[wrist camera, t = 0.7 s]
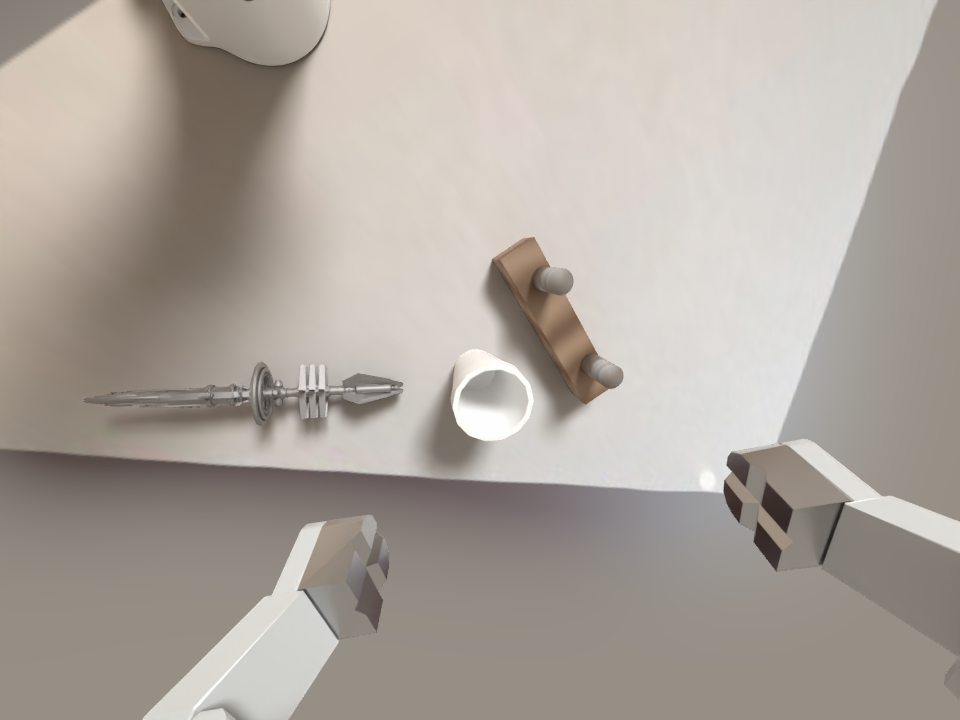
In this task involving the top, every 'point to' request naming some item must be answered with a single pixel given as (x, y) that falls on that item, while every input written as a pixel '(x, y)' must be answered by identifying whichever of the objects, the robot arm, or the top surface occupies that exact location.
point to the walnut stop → (556, 319)
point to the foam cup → (489, 396)
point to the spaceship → (263, 393)
